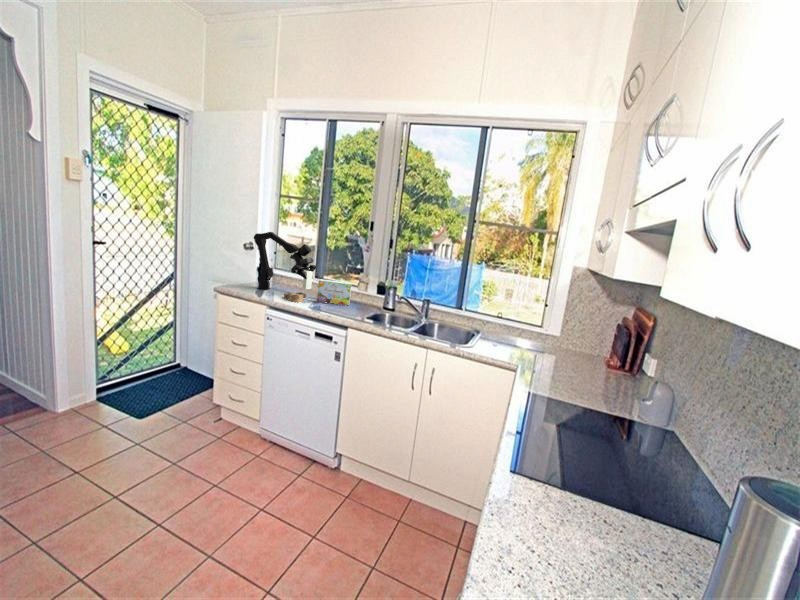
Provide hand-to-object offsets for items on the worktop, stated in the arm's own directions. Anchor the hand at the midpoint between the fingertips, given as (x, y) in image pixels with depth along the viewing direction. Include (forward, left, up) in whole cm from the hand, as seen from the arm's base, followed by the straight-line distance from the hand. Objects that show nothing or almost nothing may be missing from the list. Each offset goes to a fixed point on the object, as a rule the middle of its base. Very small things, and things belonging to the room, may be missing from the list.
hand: (309, 278), depth 258 cm
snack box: (+20, -8, -13) cm, 25 cm away
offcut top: (-3, -16, -11) cm, 20 cm away
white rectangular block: (-1, +1, -7) cm, 7 cm away
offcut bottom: (-3, -16, -14) cm, 21 cm away
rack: (-6, -8, -13) cm, 17 cm away
